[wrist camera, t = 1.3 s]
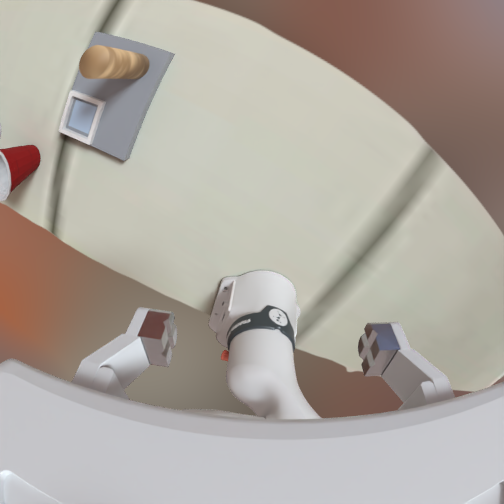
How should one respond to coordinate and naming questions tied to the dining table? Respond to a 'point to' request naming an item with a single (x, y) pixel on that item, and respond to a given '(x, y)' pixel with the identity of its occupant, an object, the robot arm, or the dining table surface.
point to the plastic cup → (16, 167)
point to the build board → (113, 101)
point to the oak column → (112, 63)
